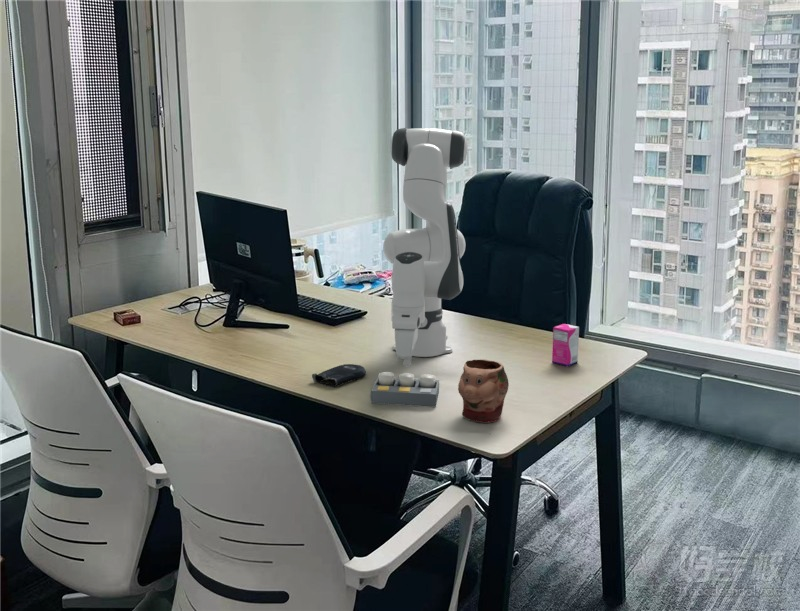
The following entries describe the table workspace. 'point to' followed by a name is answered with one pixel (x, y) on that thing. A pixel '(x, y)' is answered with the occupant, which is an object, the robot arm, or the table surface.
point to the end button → (386, 378)
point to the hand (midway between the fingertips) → (407, 364)
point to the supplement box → (565, 344)
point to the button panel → (405, 394)
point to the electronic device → (341, 374)
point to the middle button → (406, 379)
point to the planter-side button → (427, 381)
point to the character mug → (483, 390)
